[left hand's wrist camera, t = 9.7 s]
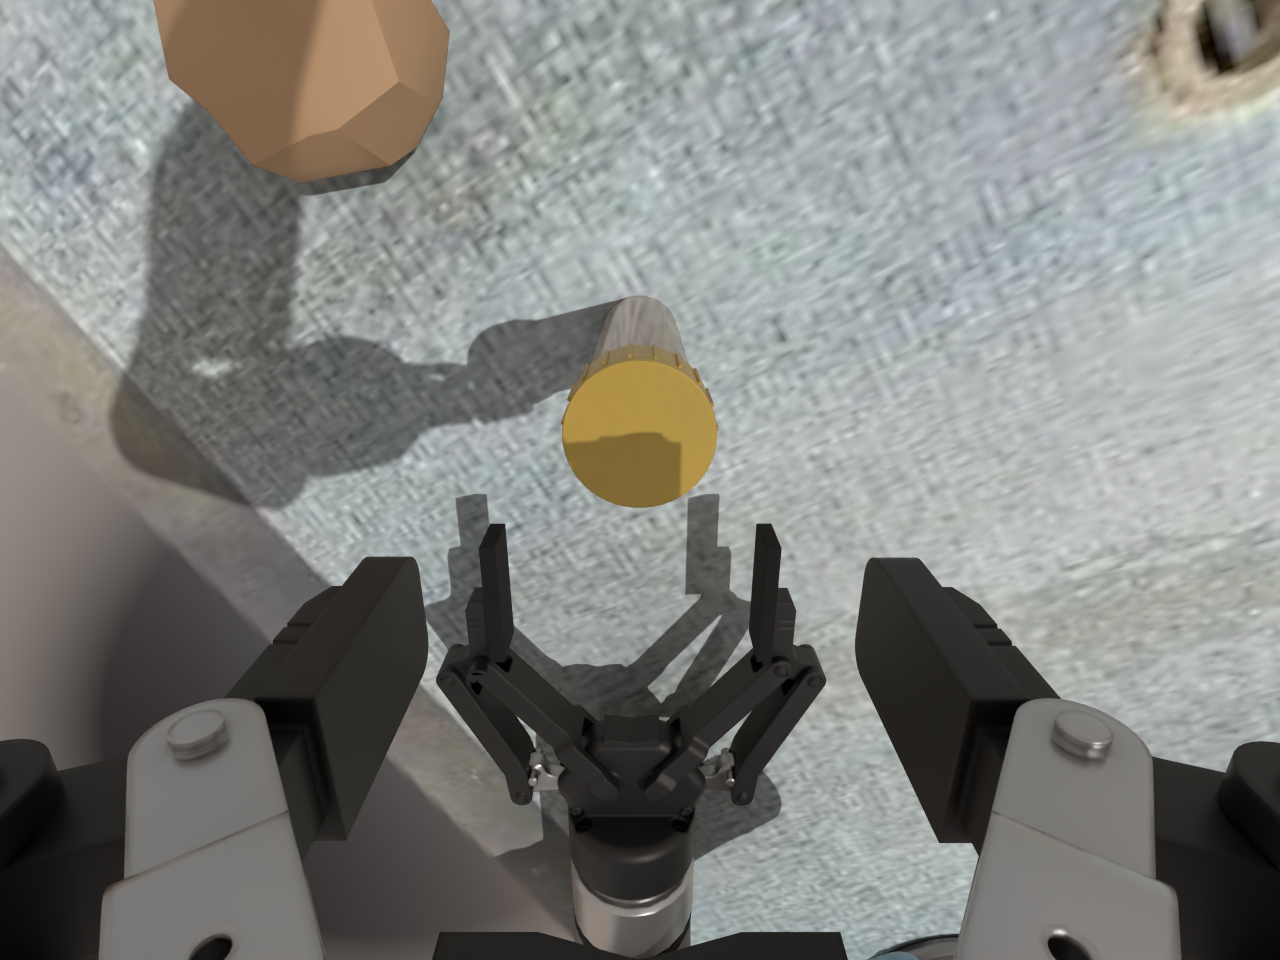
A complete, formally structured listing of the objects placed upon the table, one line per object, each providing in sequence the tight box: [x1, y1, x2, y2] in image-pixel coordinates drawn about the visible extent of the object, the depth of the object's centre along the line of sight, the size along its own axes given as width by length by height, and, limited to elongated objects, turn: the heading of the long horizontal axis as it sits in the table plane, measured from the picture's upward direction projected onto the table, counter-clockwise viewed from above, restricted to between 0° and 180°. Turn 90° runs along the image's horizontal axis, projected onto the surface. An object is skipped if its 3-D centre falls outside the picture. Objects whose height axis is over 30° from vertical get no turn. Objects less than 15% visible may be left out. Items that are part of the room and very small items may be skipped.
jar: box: [591, 296, 689, 364], centre depth 28 cm, size 4×4×17 cm
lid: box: [561, 343, 718, 508], centre depth 21 cm, size 5×5×2 cm
